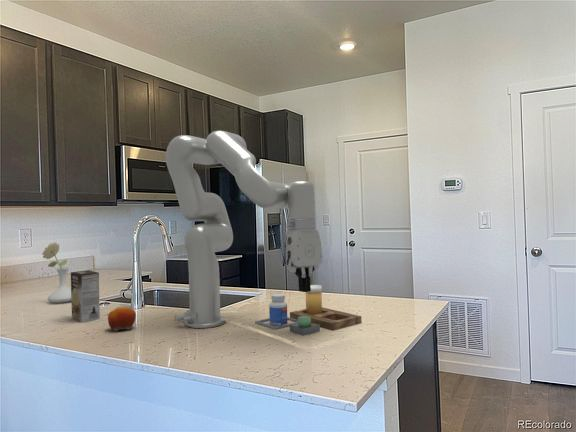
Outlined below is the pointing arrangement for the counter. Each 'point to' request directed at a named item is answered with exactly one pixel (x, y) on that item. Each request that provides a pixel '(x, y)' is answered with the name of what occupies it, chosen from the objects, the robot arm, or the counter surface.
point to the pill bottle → (278, 310)
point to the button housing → (304, 328)
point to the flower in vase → (63, 291)
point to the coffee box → (85, 295)
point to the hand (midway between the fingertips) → (304, 291)
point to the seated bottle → (314, 300)
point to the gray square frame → (274, 326)
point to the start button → (304, 321)
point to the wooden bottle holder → (329, 318)
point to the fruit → (121, 318)
